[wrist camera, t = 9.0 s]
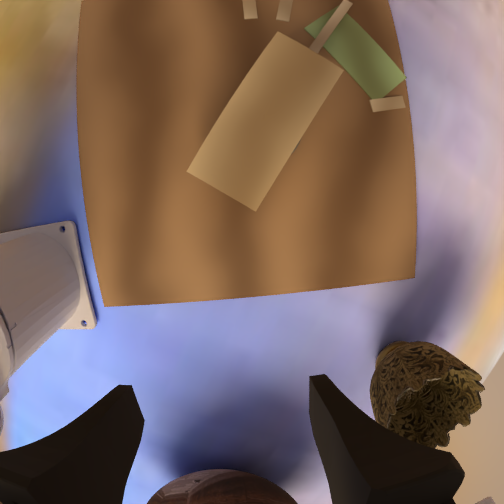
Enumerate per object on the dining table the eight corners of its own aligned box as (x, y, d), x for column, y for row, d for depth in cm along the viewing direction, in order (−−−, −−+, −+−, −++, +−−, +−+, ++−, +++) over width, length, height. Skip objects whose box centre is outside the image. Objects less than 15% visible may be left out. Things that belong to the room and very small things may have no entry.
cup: (401, 296, 21) (460, 349, 14) (446, 345, 23) (497, 398, 15) (330, 367, 23) (359, 441, 15) (383, 405, 24) (417, 470, 16)
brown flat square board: (110, 300, 21) (103, 307, 20) (88, 7, 16) (81, 0, 15) (407, 272, 21) (416, 278, 20) (375, -19, 16) (381, -27, 14)
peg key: (193, 168, 18) (179, 167, 14) (316, -11, 15) (330, -45, 11) (259, 206, 19) (263, 216, 15) (374, 24, 16) (400, -3, 12)
